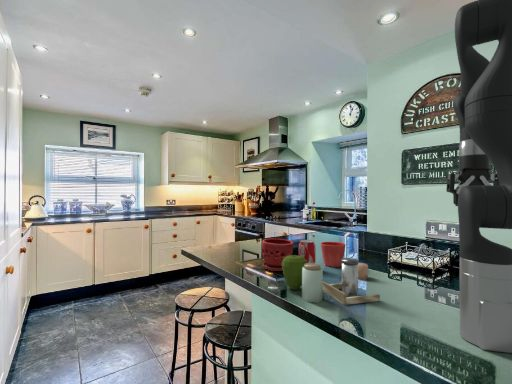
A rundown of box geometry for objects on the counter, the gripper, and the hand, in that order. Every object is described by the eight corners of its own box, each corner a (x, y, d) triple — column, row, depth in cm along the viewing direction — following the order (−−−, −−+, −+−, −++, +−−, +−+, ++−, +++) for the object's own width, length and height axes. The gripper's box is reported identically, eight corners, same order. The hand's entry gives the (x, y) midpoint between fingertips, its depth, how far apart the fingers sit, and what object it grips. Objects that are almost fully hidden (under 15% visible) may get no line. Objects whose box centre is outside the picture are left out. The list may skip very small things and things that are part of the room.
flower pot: (315, 263, 125) (315, 242, 125) (334, 261, 130) (334, 240, 130) (331, 269, 115) (331, 246, 115) (350, 266, 120) (350, 244, 120)
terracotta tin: (369, 280, 100) (369, 266, 100) (352, 279, 102) (352, 265, 102) (366, 276, 106) (366, 263, 106) (350, 274, 107) (350, 262, 108)
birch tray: (353, 287, 92) (353, 278, 92) (379, 300, 80) (379, 290, 80) (321, 290, 88) (321, 281, 89) (344, 305, 77) (344, 294, 77)
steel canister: (359, 299, 81) (359, 262, 82) (341, 297, 83) (342, 261, 83) (357, 293, 86) (357, 258, 87) (340, 292, 87) (340, 257, 88)
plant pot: (261, 273, 108) (261, 242, 108) (262, 265, 121) (262, 237, 121) (294, 274, 107) (294, 243, 107) (291, 265, 120) (292, 238, 120)
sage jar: (322, 303, 78) (322, 268, 78) (301, 301, 79) (301, 266, 79) (322, 296, 84) (322, 263, 84) (302, 294, 85) (302, 262, 85)
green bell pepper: (313, 289, 90) (313, 254, 90) (296, 295, 84) (297, 257, 84) (292, 282, 96) (292, 250, 96) (276, 288, 90) (276, 253, 90)
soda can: (315, 272, 110) (315, 242, 110) (297, 271, 111) (298, 241, 112) (315, 267, 117) (315, 239, 117) (298, 266, 118) (298, 239, 119)
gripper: (453, 153, 84) (453, 206, 83) (508, 152, 80) (508, 207, 80) (442, 157, 91) (442, 205, 91) (492, 156, 88) (493, 206, 87)
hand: (473, 206), depth 85 cm, fingers open, 8 cm apart
